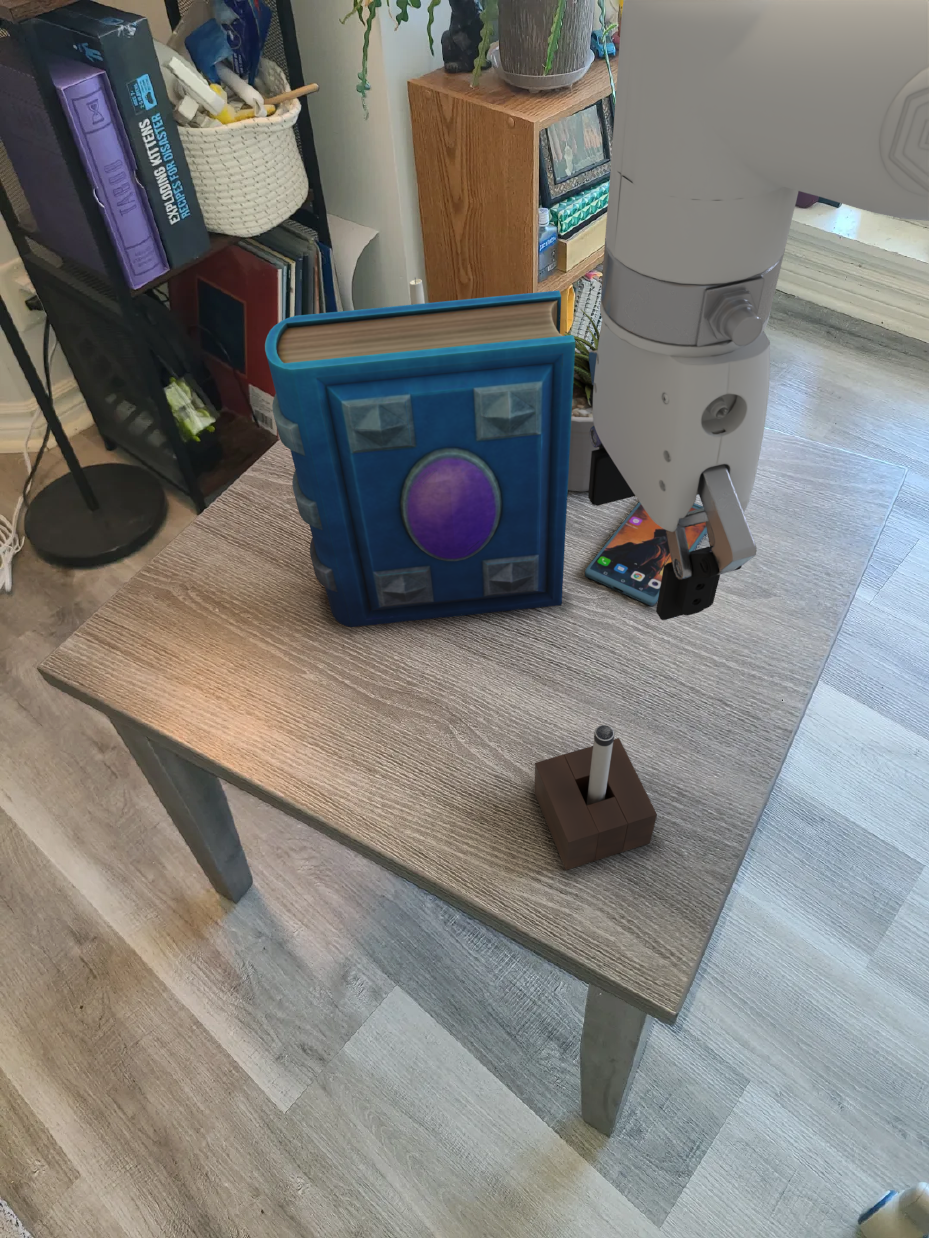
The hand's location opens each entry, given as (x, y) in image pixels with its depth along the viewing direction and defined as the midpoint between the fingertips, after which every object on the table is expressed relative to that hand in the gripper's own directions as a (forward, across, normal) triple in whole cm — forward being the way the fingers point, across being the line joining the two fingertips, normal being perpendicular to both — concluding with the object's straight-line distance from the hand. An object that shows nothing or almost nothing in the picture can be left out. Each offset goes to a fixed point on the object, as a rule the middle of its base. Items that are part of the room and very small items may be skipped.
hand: (646, 550), depth 53 cm
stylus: (+30, -1, +2) cm, 30 cm away
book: (+31, +27, +7) cm, 41 cm away
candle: (+31, +61, -1) cm, 68 cm away
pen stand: (+30, -1, +2) cm, 30 cm away
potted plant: (+31, +40, -14) cm, 52 cm away
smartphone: (+31, +26, -16) cm, 43 cm away
